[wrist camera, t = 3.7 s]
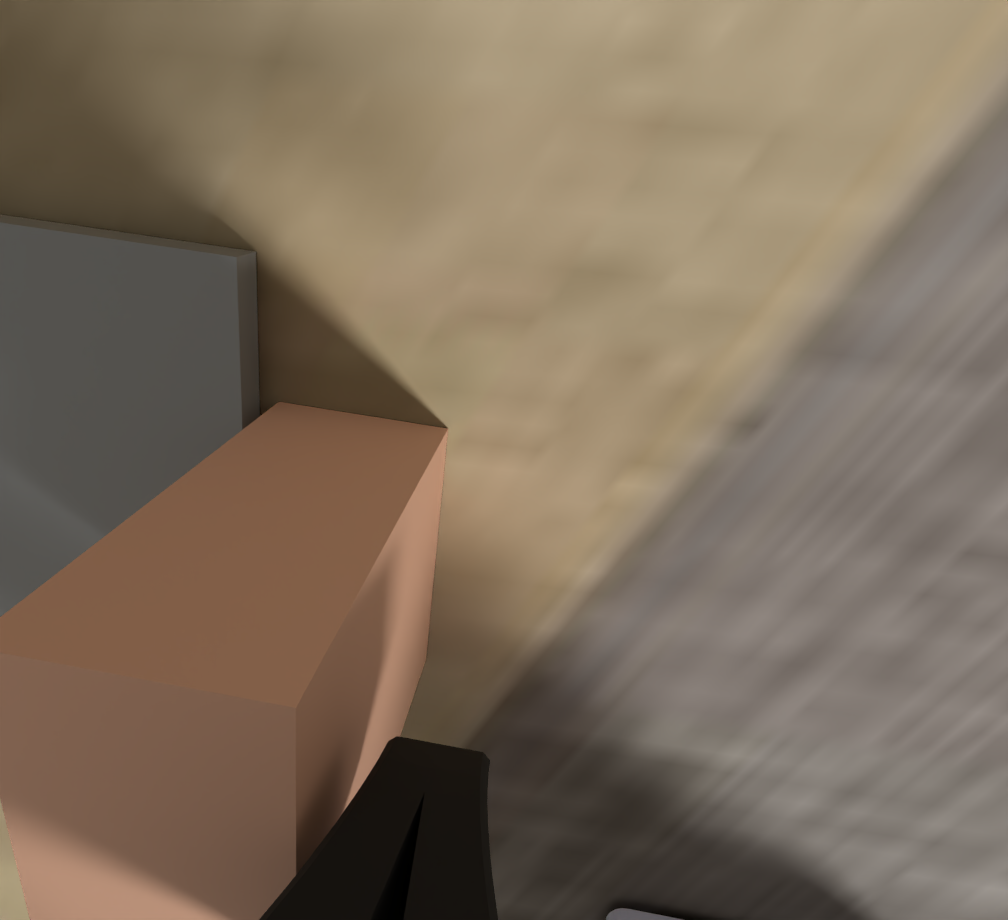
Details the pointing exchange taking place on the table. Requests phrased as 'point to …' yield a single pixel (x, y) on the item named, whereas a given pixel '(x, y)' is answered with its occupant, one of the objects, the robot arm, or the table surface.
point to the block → (220, 671)
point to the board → (111, 381)
